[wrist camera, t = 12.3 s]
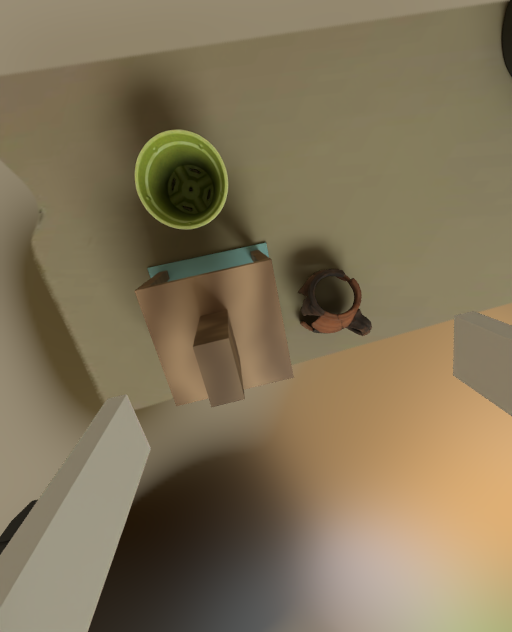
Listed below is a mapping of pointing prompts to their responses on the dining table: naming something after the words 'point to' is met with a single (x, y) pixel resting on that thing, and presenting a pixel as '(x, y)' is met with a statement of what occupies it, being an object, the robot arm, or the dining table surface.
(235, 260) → the teal mat
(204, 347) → the brown piece
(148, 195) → the plant pot
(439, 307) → the dining table surface
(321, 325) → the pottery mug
